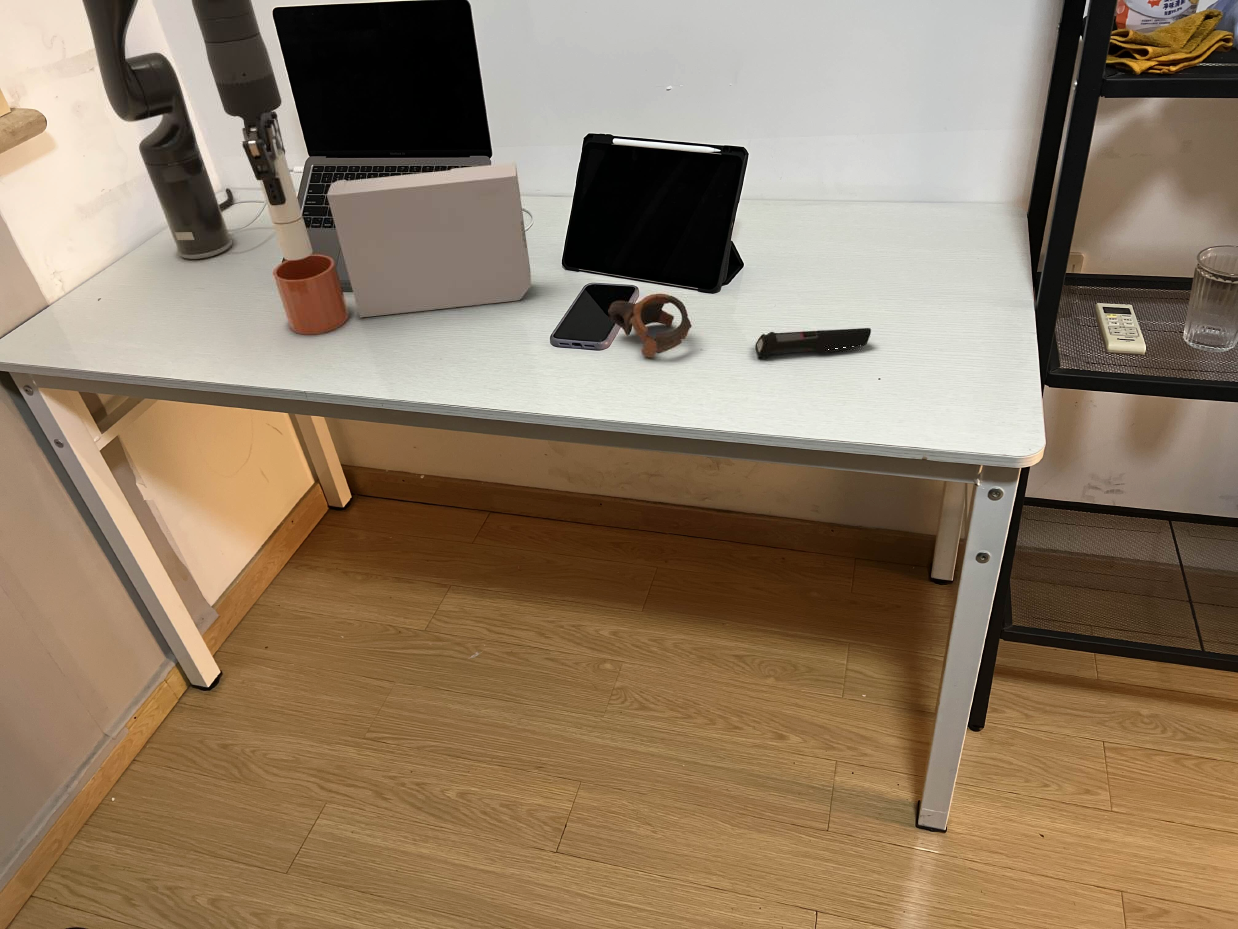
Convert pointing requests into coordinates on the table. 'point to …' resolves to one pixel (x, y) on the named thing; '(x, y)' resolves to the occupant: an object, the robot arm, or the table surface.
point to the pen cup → (311, 294)
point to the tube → (288, 216)
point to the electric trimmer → (811, 341)
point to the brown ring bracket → (651, 321)
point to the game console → (432, 239)
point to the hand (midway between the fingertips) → (280, 196)
